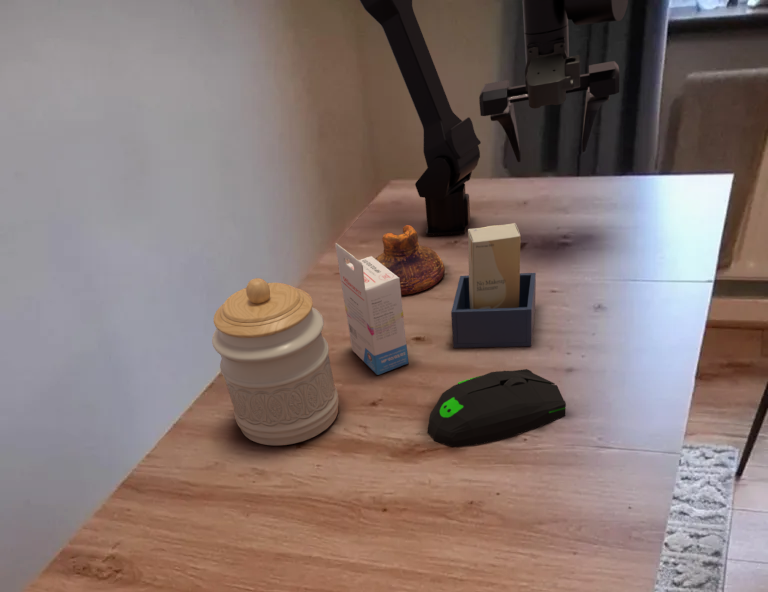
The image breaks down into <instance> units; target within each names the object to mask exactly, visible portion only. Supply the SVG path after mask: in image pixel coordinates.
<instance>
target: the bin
mask: <svg viewBox="0 0 768 592" xmlns="http://www.w3.org/2000/svg"><path fill="white" fill-rule="evenodd" d="M536 277H537V273H536V272H520V288H519V308H495V309H470V301H469V274H468V275H460V276H459V279H458V283H457V287H456V291H455V295H454V300H453V304H452V308H451V311H450V316H451V329H452V345H453V348H454V349H465V348H467V349H468V348H470V349H471V348H512V347H532V343H533V333H534V326H535V325H534V324H535V314H536V290H537V289H536V287H537V286H536V284H537V283H536V279H537V278H536Z"/></svg>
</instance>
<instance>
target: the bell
mask: <svg viewBox="0 0 768 592" xmlns="http://www.w3.org/2000/svg"><path fill="white" fill-rule="evenodd" d="M381 239H382V240H381V241H382V245H383V252H381V254H379V255H378V256H376V257H375V259H376V260H377V261H378V262H380V263H381V264H382V265H383V266H385V267H386V268H387V269H388V270H390V271H391V272H392V273H394V274H395V275H396V276H397V277H399V280H400V289H401V296H404V295H412V294H417V293H421V292H423V291H425V290H428V289H430V288H432V287H433V286H435V285H437V284H438V283H439V282H440V281H441V280H442V279H443V278H444V276H445V272H446V267H445V265H444V262H443V260H442V258H441V257H440V256H439V255H438V253H437V252H436V251H435V250H433V249H432V248H430V247H428V246H425V245H421V244H420V243H419V235H418V232H417V230H416V229H415V228H414V227H413V226H412V225H408V224H406V225H404V226H403V227H402V233H401V234H398V235H397V234H394V233H392V232H386V233H384V234H383V235H382V238H381Z"/></svg>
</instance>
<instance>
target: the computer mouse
mask: <svg viewBox="0 0 768 592" xmlns="http://www.w3.org/2000/svg"><path fill="white" fill-rule="evenodd" d="M566 403H567V402H566V401H565V399H564V397H563V395H562V393H561V391H560V389H559V387H558V385H557V384H556V383H555V382H553V381H550V380H549V379H547V378H545V377H543V376H540V375H538V374H536V373H535V372H533V371H532V370H530V369H527V368H524V369H523V368H522V369H517V370H500V371H497V370H496V371H491V372H488V373H485V374H482V375H478V376H475V377H471V378H468V379H464V380H461V381H458V382H457V383H456V384H455V385H453V386H451V387H449V388H448V389H446V390H445V391H444V392H442V393H441V395H440V397H439V399H438V400H437V402H436V403H435V405H434V407H433V409H432V410H431V411H430V413H429V418H428V423H427V424H428V425H427V434H428V435H429V436H430V437H431V439H432V440H433V441H434V442H436V443H440V444H442V445H446V446H449V447H452V448H453V447H467V446H477V445H482V444H489V443H492V442H493V443H494V442H496V441H500V440H504V439H509V438H511V437H514V436H517V435H521V434H523V433H526V432H529V431H531V430H534V429H536V428H539V427H542V426H544V425H547V424H550V423H552V422H554V421H557V420H558V419H560V418H562V417H564V416H566V411H567V409H566V406H567V404H566Z"/></svg>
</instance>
